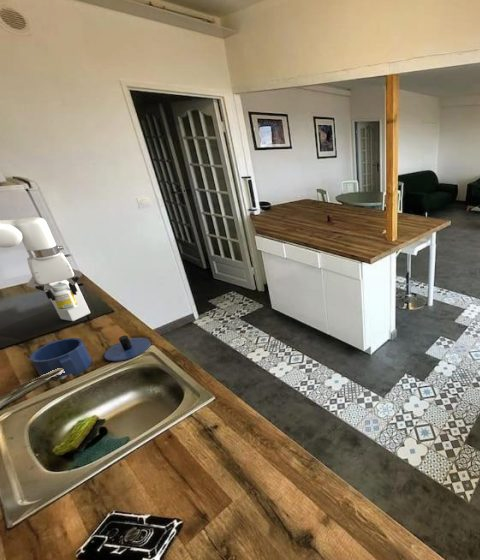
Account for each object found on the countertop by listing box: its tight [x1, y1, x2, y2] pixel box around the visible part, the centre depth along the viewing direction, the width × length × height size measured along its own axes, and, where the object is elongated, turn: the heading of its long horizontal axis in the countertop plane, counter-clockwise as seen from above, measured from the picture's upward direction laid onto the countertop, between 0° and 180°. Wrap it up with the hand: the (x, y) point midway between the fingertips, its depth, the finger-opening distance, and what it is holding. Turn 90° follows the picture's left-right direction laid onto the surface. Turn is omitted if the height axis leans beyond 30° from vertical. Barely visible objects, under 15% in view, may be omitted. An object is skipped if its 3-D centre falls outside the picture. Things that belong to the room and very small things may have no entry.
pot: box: [28, 337, 93, 379], centre depth 105 cm, size 13×18×8 cm
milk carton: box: [49, 280, 91, 322], centre depth 133 cm, size 7×7×19 cm
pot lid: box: [103, 335, 151, 362], centre depth 115 cm, size 14×14×6 cm
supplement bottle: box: [52, 283, 78, 311], centre depth 119 cm, size 5×5×10 cm
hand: (63, 296), depth 119 cm, fingers closed on supplement bottle, 5 cm apart
